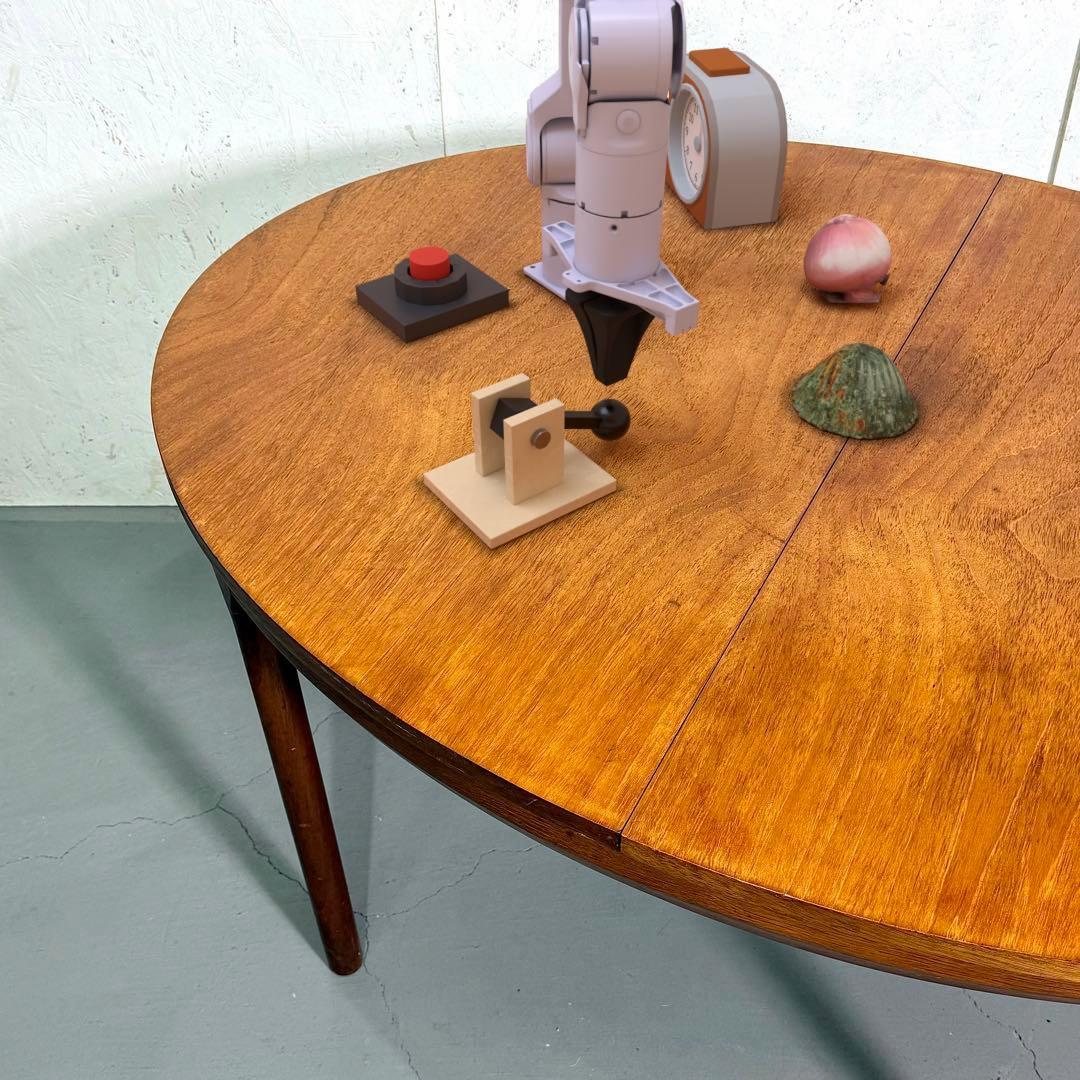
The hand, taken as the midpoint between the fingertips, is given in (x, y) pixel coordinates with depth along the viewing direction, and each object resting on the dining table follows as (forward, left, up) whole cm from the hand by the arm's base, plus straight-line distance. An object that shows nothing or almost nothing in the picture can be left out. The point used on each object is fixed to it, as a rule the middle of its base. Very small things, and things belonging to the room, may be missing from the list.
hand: (611, 378), depth 77 cm
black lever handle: (+5, 0, -3) cm, 6 cm away
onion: (-33, -6, -6) cm, 34 cm away
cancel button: (-1, -27, -3) cm, 27 cm away
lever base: (+8, 0, -6) cm, 10 cm away
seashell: (-20, +7, -6) cm, 22 cm away
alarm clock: (-38, -29, -6) cm, 48 cm away
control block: (-1, -27, -6) cm, 28 cm away
